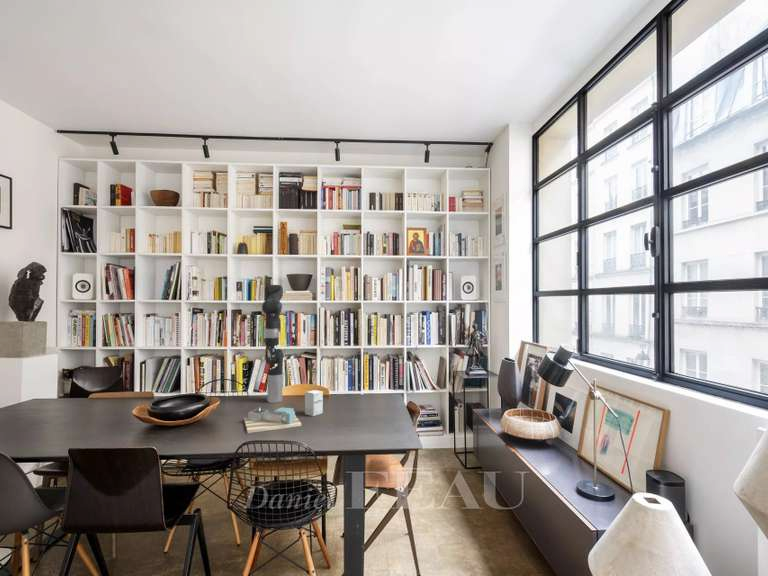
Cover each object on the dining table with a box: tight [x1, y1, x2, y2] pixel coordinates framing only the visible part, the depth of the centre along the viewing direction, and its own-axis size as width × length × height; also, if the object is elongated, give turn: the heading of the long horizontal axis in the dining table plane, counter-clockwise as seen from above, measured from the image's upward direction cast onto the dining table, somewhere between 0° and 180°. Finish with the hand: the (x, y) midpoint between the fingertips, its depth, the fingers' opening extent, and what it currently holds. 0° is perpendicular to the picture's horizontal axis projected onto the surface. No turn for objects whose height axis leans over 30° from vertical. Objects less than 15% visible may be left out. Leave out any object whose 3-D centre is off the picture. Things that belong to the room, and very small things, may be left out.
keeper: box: [273, 406, 296, 424], centre depth 197 cm, size 9×7×7 cm
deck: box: [243, 415, 302, 434], centre depth 199 cm, size 22×26×1 cm
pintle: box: [256, 406, 262, 413], centre depth 202 cm, size 2×2×8 cm
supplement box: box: [304, 389, 324, 417], centre depth 216 cm, size 7×7×13 cm
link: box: [247, 408, 286, 423], centre depth 201 cm, size 19×8×4 cm, turn 71°
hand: (271, 365), depth 211 cm, fingers open, 8 cm apart
